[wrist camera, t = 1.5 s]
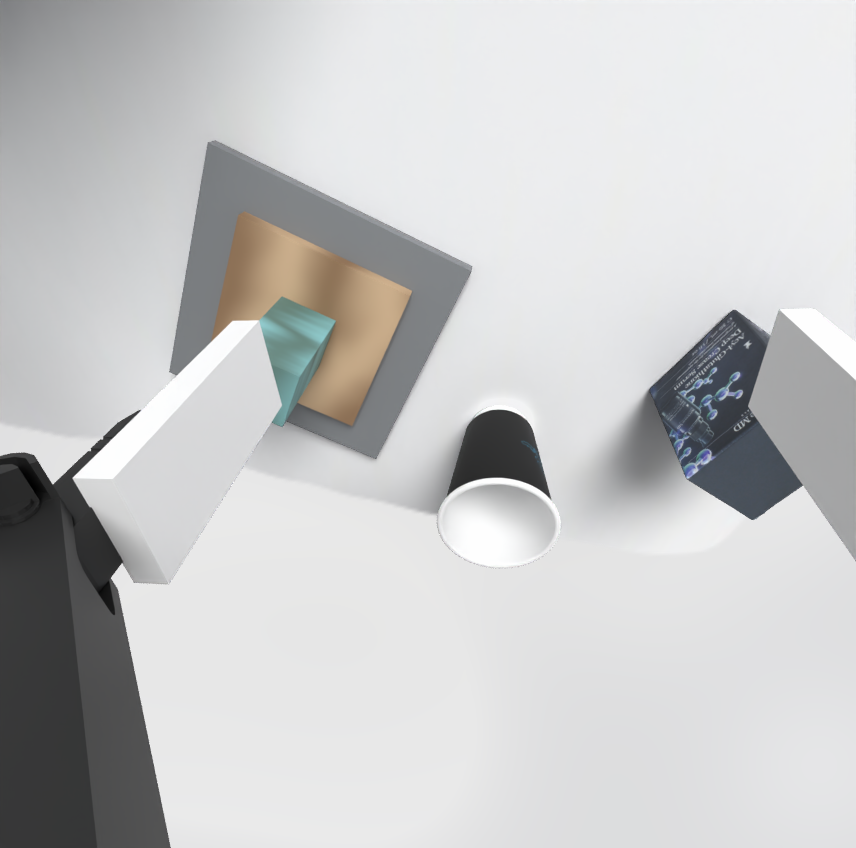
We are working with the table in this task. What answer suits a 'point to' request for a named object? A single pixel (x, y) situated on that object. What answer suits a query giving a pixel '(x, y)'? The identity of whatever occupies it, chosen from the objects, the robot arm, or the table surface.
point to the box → (724, 419)
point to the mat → (339, 234)
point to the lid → (310, 316)
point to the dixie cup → (499, 495)
